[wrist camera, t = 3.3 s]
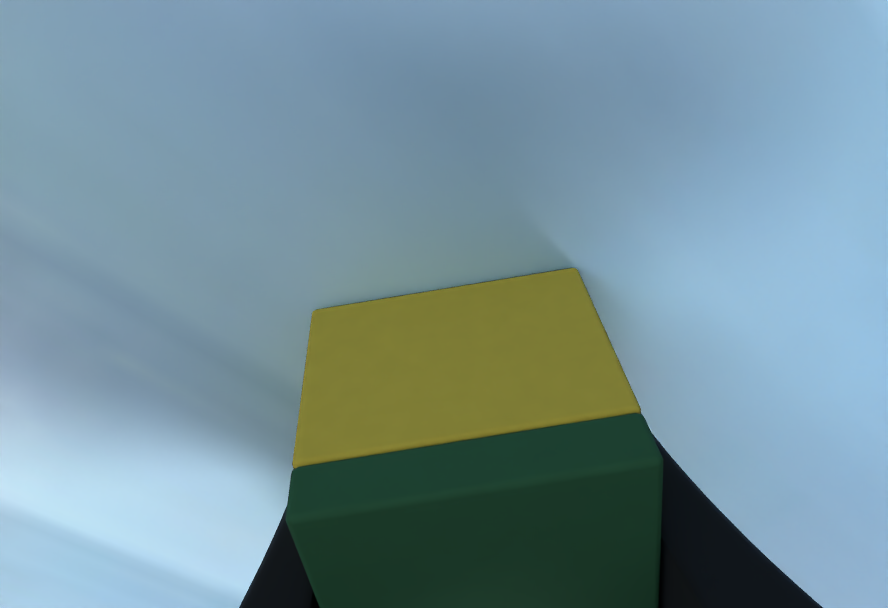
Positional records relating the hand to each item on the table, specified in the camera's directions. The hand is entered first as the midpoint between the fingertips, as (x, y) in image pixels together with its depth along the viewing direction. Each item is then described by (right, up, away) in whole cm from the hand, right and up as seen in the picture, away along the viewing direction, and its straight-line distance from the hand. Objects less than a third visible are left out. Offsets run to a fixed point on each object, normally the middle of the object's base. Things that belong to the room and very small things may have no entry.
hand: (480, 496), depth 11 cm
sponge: (0, +1, +1) cm, 1 cm away
